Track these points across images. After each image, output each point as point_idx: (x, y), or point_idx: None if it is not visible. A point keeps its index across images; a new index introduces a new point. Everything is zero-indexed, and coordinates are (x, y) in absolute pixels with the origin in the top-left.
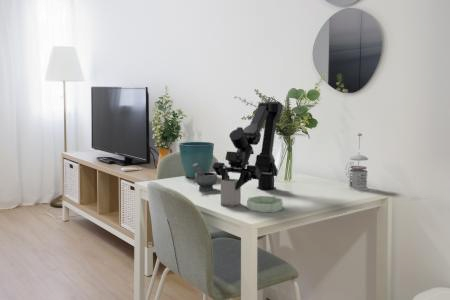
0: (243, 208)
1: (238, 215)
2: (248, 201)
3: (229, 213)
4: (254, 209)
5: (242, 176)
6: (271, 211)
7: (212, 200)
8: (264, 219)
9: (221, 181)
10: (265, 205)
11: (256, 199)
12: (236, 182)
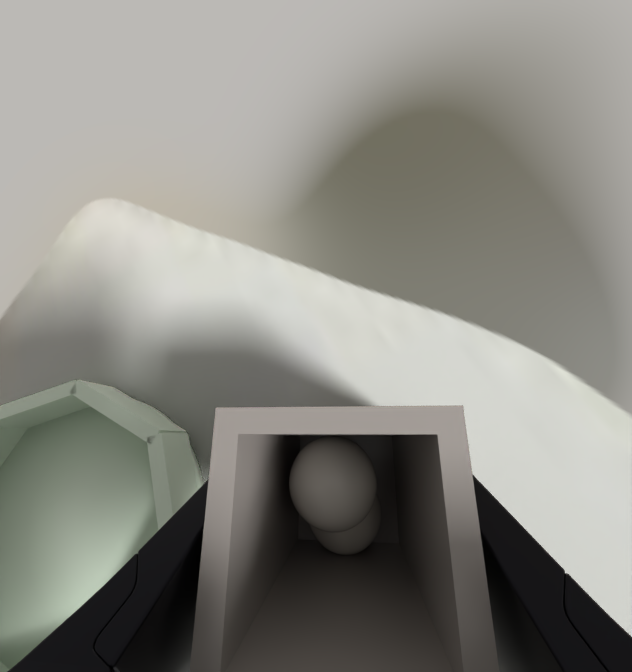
0: None
1: (190, 271)
2: (146, 421)
3: (250, 279)
4: (121, 392)
5: (41, 665)
6: (24, 430)
7: (572, 549)
8: (49, 278)
9: (447, 406)
10: (19, 403)
11: None
12: (213, 502)
